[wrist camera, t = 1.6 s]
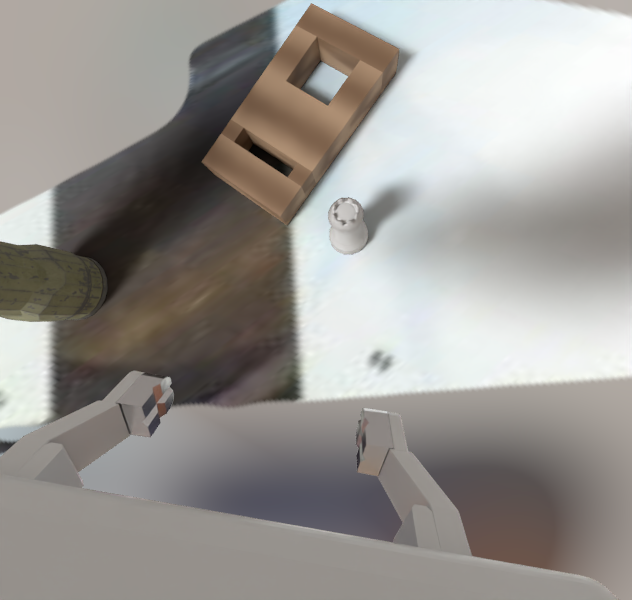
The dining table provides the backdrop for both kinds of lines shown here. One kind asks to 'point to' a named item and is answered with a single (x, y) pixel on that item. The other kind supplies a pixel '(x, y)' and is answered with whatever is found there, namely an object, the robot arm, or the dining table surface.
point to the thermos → (48, 284)
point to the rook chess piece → (347, 226)
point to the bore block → (301, 112)
